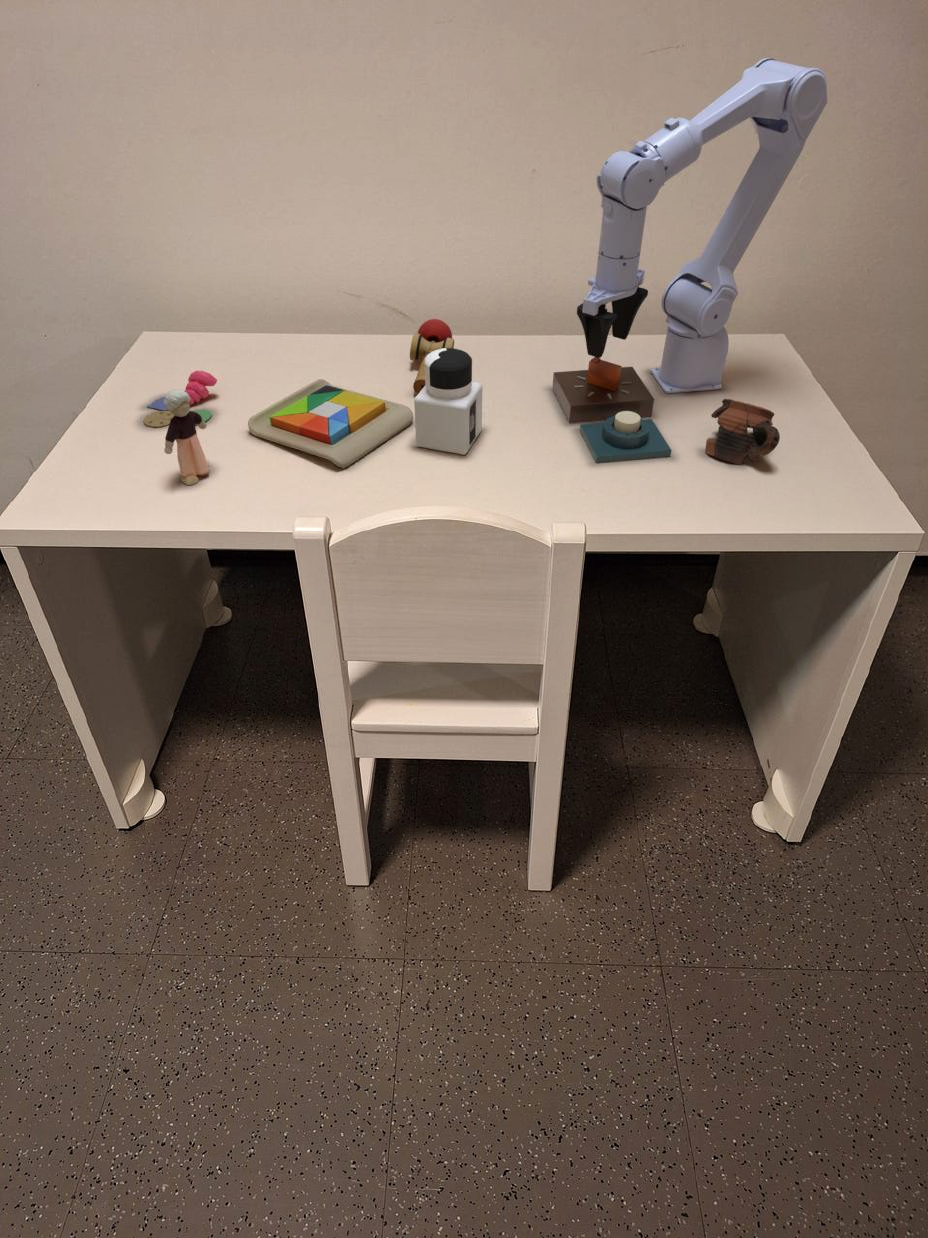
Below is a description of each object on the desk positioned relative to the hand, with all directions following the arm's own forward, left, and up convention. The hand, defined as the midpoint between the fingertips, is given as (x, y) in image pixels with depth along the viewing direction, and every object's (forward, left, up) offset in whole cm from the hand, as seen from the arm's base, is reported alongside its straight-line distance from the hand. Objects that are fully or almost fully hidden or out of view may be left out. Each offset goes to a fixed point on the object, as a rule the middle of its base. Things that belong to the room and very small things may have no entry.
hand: (607, 346), depth 121 cm
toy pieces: (+65, -8, -10) cm, 66 cm away
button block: (0, +12, -9) cm, 16 cm away
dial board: (0, 0, -9) cm, 9 cm away
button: (0, +12, -7) cm, 14 cm away
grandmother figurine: (+61, +11, -10) cm, 63 cm away
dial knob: (0, 0, -6) cm, 6 cm away
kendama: (+25, -15, -10) cm, 31 cm away
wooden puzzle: (+42, +1, -10) cm, 43 cm away
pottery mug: (-16, +17, -10) cm, 25 cm away
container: (+25, +7, -10) cm, 28 cm away
